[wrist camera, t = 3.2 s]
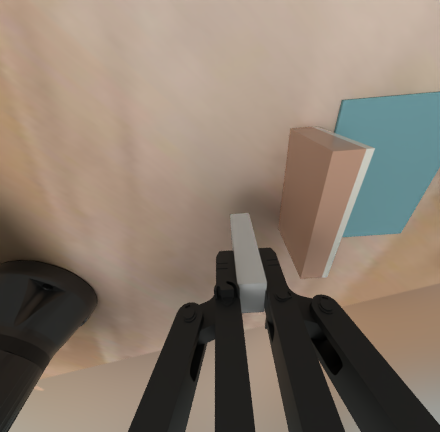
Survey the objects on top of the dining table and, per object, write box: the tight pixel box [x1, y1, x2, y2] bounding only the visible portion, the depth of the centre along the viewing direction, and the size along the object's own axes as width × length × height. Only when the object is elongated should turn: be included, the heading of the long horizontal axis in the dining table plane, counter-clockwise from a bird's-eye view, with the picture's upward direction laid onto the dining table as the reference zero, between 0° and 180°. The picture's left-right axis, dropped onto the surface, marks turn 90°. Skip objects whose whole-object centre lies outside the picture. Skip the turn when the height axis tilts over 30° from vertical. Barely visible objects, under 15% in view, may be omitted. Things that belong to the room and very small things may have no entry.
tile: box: [278, 126, 375, 279], centre depth 18 cm, size 2×12×8 cm, turn 4°
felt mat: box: [334, 92, 440, 237], centre depth 21 cm, size 12×16×1 cm
